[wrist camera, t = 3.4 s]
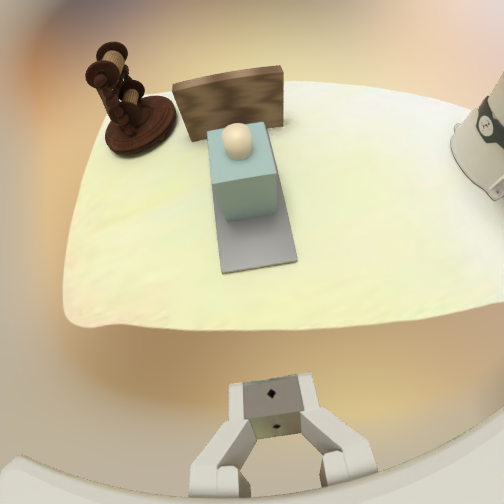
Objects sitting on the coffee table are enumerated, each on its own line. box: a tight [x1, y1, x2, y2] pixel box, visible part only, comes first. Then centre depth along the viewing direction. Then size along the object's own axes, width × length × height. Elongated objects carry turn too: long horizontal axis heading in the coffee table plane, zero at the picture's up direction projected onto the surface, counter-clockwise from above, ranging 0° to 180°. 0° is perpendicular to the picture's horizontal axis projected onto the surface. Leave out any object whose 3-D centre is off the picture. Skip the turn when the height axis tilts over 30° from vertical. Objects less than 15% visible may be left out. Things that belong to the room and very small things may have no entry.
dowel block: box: [207, 122, 277, 222], centre depth 33 cm, size 7×8×13 cm
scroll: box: [85, 42, 176, 154], centre depth 38 cm, size 15×15×20 cm
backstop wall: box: [172, 65, 283, 142], centre depth 39 cm, size 16×2×12 cm, turn 99°
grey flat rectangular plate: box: [212, 125, 297, 274], centre depth 40 cm, size 10×24×1 cm, turn 9°
